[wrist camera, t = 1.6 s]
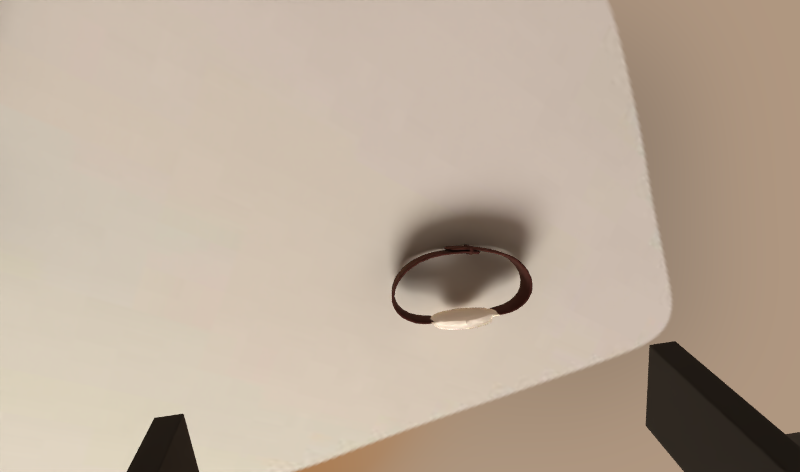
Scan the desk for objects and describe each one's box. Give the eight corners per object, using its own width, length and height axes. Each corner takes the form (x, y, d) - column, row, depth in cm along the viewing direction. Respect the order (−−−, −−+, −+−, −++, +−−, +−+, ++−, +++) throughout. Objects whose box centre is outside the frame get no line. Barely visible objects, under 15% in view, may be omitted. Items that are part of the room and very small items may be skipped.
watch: (392, 322, 32) (398, 354, 29) (384, 246, 31) (390, 270, 27) (520, 306, 33) (542, 335, 29) (519, 230, 31) (541, 252, 28)
